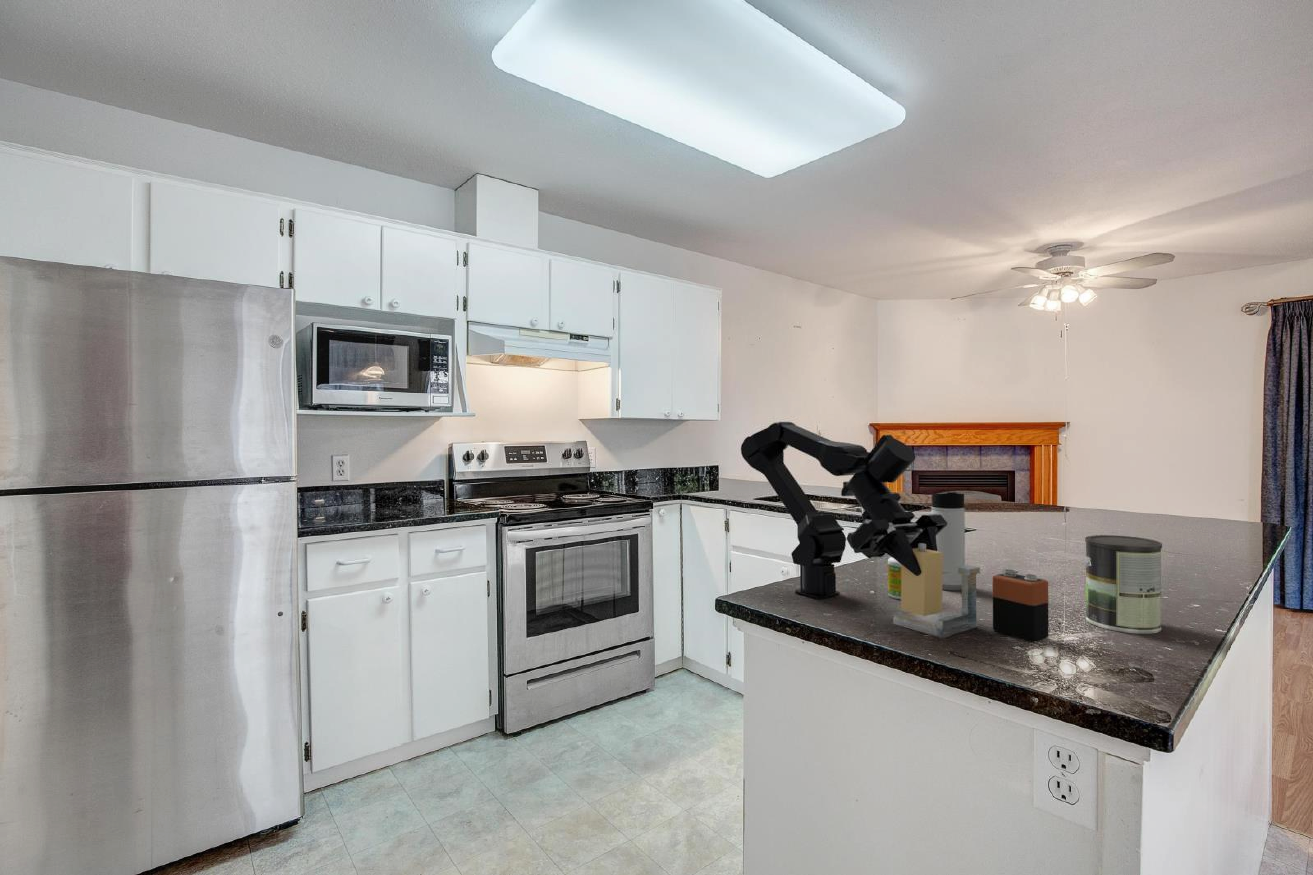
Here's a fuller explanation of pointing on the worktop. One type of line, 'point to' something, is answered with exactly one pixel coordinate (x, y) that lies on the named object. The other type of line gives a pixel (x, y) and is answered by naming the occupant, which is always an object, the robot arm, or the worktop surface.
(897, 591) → the supplement bottle
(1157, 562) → the coffee can
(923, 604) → the block
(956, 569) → the travel mug
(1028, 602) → the battery
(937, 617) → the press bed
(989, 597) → the worktop surface
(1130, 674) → the worktop surface
